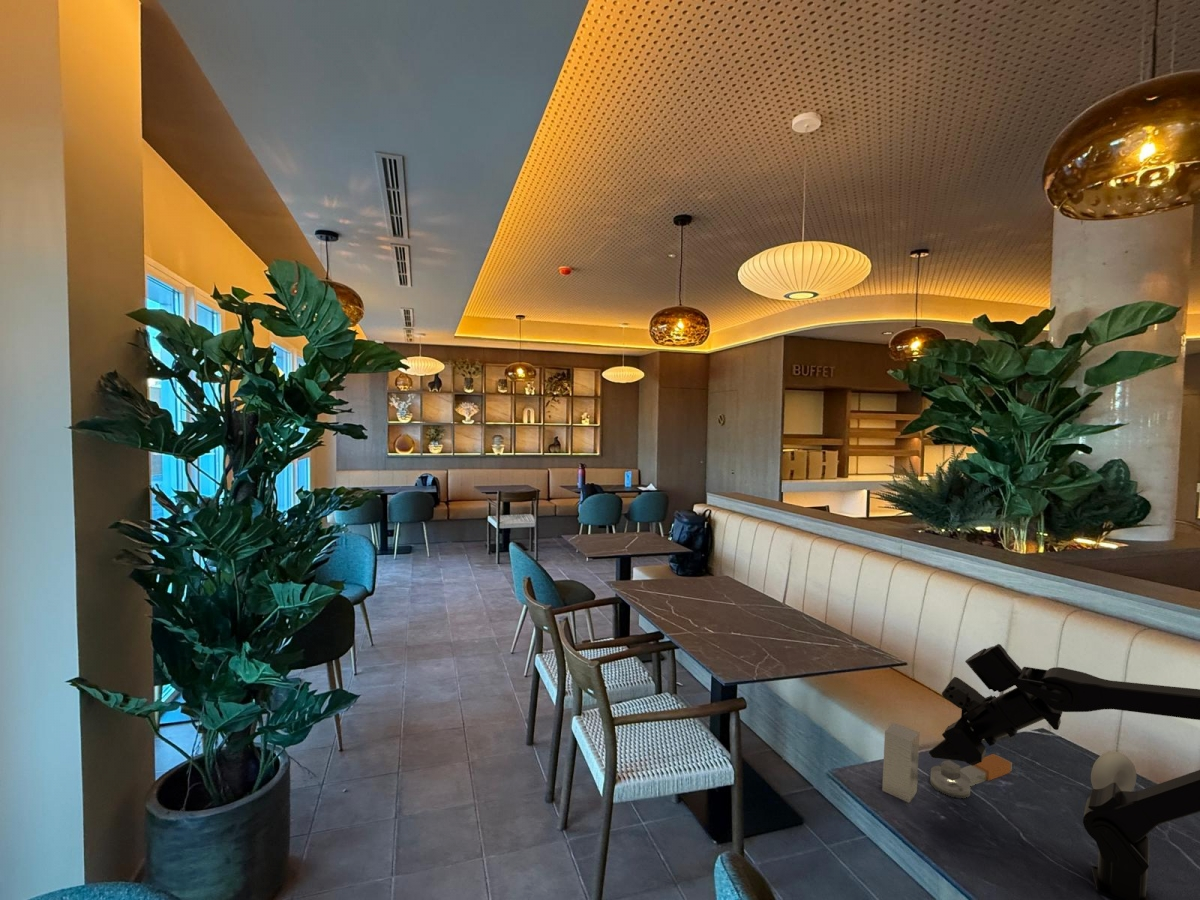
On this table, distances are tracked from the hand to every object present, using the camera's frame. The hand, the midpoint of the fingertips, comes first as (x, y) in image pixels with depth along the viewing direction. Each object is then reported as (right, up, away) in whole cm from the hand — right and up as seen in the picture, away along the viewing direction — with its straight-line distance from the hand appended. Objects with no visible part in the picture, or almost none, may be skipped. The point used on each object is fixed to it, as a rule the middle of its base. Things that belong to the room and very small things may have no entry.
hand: (937, 745), depth 107 cm
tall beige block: (-5, -12, +5) cm, 14 cm away
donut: (+38, -14, +4) cm, 41 cm away
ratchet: (+14, -13, +10) cm, 21 cm away
